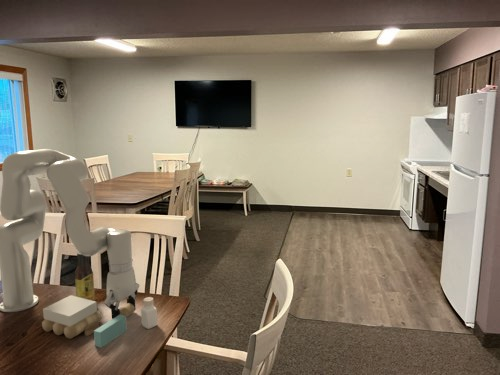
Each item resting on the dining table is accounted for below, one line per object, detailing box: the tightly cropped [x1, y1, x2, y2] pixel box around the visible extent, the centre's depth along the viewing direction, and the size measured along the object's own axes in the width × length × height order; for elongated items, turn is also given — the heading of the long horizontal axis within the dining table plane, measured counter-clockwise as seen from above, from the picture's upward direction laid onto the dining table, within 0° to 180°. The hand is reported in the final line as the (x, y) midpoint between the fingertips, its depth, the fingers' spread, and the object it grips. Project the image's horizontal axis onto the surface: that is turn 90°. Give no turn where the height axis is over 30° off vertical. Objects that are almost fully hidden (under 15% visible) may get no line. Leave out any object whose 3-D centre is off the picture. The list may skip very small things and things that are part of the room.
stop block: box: [93, 315, 127, 348], centre depth 124 cm, size 2×11×5 cm, turn 155°
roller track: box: [41, 309, 103, 340], centre depth 129 cm, size 22×12×4 cm, turn 65°
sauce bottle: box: [74, 251, 95, 301], centre depth 146 cm, size 7×6×20 cm
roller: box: [118, 302, 136, 318], centre depth 137 cm, size 7×4×4 cm, turn 155°
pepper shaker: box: [140, 296, 158, 330], centre depth 131 cm, size 4×4×10 cm
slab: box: [42, 294, 98, 327], centre depth 131 cm, size 12×11×4 cm
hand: (123, 314), depth 137 cm, fingers closed on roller, 7 cm apart
